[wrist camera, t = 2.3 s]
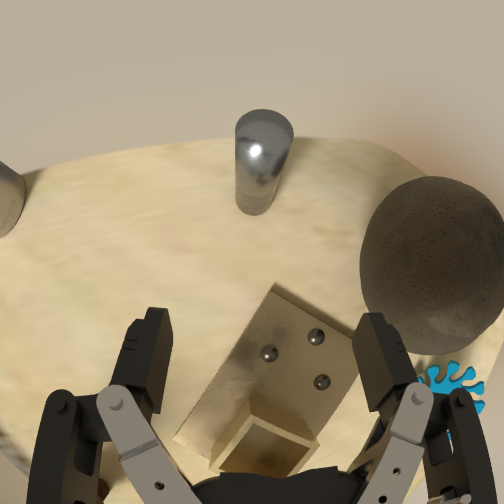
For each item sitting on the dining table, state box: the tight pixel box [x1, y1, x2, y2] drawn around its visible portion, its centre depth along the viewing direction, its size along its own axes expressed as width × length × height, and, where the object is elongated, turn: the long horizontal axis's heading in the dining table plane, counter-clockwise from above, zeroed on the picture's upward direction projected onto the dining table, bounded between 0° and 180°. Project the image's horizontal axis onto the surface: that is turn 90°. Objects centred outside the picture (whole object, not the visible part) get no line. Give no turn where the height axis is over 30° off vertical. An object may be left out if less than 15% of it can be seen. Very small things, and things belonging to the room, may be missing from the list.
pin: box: [235, 109, 294, 216], centre depth 22 cm, size 4×4×12 cm
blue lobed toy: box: [417, 360, 485, 440], centre depth 23 cm, size 11×6×10 cm
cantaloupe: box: [360, 176, 504, 355], centre depth 20 cm, size 14×14×15 cm
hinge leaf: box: [173, 291, 359, 478], centre depth 22 cm, size 12×18×5 cm, turn 148°
